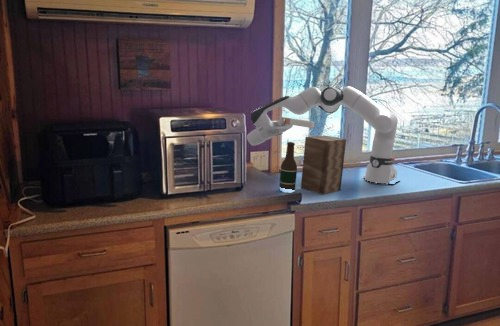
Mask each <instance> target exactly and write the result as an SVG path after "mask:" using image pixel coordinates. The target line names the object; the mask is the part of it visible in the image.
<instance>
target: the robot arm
mask: <svg viewBox="0 0 500 326" xmlns="http://www.w3.org/2000/svg"><path fill="white" fill-rule="evenodd" d="M271 102H272V103H271ZM271 102H269V103H270V104H269V103H267V104H268V105H267V104H265V105H266V106H265V105H263V106H264V107H263V106H260V107H261V108H260V107H257V108H258V109H257V108H255V109H256V110H254V109H253V110H254V111H253V110H252V111H253V112H252V111H251V112H252V114H251V120H252V122H253V124H252V125H253V126H254V125H255V126H256V127H255V126H254V127H255V129H253V130H251V131H250V132H248V133H247V135H246V140H247V142H248V143H249V144H250V146H252V147H253V146H254V147H255V146H258V145H260V144H262V143H265V142H268V141H269V140H272V139H273V138H275V137H277V136H281V135H282V134H283V133H284V132H286V131H287V132H288V130H290V129H291V128H293V126H294V125H290V124H284V123H285V122H286V119H282V120H281V119H279V120H271V118H270V116H269V115H268V112H270V111H273V110H275V109H277V108H279V107H283V108H285V109H287V110H288V111H289V112H291V113H292V114H294V115H297V116H301V115H304V114H306V113H308V112H310V110H311V109H313V108H314V107H316V106H318V108H320V109H321V110H322V111H324V112H325V113H328V114H333V113H335V112H337V111H338V110H339V108H340V106H344V107H347V108H348V109H349V110H351V111H352V112H353V113H355V114H356V115H358V116H359V117H360V118H362V119H363V120H364V121H365V122H366V123H367V124H368V125H369V126H371V128H374V130H375V131H374V136H373V140H372V146H371V153H370V156H369V163H368V164H367V165H366V170H365V175H363V177H362V178H363V179H364V178H365V179H364V180H365V181H366V180H367V181H366V182H368V181H370V182H369V183H371V182H377V183H390V181H392V180H394V179H395V178H398V177H397V176H398V171H397V169H396V168H395V166H394V165H393V163H394V162H395V161H396V159H395V157H393V151H394V143H395V138H396V134H397V133H396V132H397V128H398V121H399V120H398V117H397V115H396V114H395V113H393V112H392V111H386V110H385V109H383V108H382V107H381V106H380V105H379V104H377V102H376V101H374V100H373V99H371V98H370V97H369V96H367V95H366V94H364V93H363V92H362V91H360V90H358V89H356V88H355V87H353V86H350V85H348V86H347V85H346V86H344V87H342V89H341V88H340V87H333V86H327V87H325V88H324V89H323V90H322V91H321V90H320V89H319V88H318V87H316V86H311V87H308V88H306V89H305V90H303V91H301V92H300V93H298V94H297V95H296V94H295V95H294V96H289V95H285V96H283V97H282V96H281V97H280V98H278V99H276V100H275V99H274V102H273V101H271ZM252 122H251V123H252ZM377 183H376V184H377Z"/></svg>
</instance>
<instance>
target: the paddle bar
mask: <svg viewBox="0 0 500 326" xmlns="http://www.w3.org/2000/svg"><path fill="white" fill-rule="evenodd" d="M282 119H286V122H285V123H284V124H290V125H293V126H296V127H303V128H308V129H314V128H315V123H316V122H315V121H312V120H311V121H310V120H305V119H300V118H299V119H297V118H290V117H285V116H284V117H282V116H281V117H280V120H282Z"/></svg>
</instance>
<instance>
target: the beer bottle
mask: <svg viewBox="0 0 500 326" xmlns="http://www.w3.org/2000/svg"><path fill="white" fill-rule="evenodd" d="M286 145H287V146H286V154H285V158H284V159H283V161H282V162H281V165H280V172H279V182H278V183H279V184H278V185H279V186H280V187H281V188H285V189H292V190H295V191H296V184H297V183H296V182H297V171H298V166H297V165H298V164H297V162H296V160H295V145H296V143H295V142H293V141H288V142H287V143H286ZM279 186H278V187H279Z"/></svg>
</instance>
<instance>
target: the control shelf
mask: <svg viewBox="0 0 500 326" xmlns="http://www.w3.org/2000/svg"><path fill="white" fill-rule="evenodd" d="M346 143H347V139H345V138H340V137H336V136H329V135H326V134H325V135H316V136H315V135H313V136H305V139H304V148H303V149H304V151H303V161H302V172H301V183H300V184H301V185H300V190H305V191H308V192H312V193H315V194H320V195H326V194H330V193H333V192H337V191H338V192H339V191H342V189H341V188H342V180H343V171H344V161H345V152H346Z"/></svg>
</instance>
